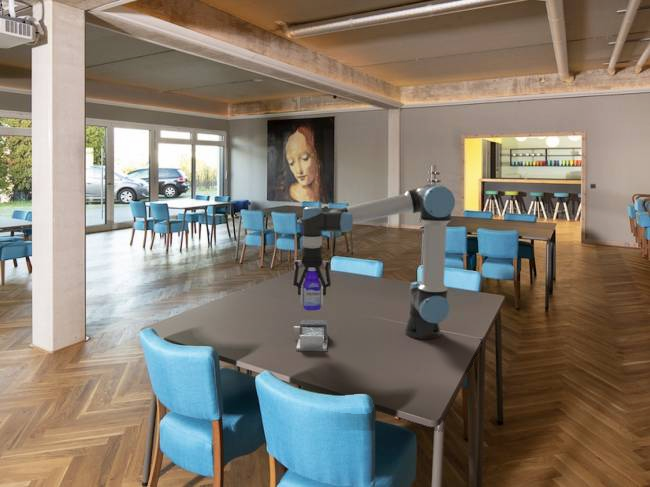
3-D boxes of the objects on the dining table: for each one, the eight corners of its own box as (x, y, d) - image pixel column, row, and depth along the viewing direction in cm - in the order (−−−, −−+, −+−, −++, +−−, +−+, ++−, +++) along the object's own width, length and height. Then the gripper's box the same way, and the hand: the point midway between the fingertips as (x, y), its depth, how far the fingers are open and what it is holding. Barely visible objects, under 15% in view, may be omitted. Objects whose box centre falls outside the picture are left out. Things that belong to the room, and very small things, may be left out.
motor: (328, 335, 208) (328, 320, 207) (327, 340, 202) (327, 324, 201) (294, 335, 209) (294, 319, 208) (293, 340, 203) (292, 324, 202)
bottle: (304, 311, 191) (305, 268, 188) (301, 307, 196) (301, 265, 193) (322, 310, 193) (323, 267, 190) (318, 306, 198) (319, 264, 195)
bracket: (327, 341, 202) (327, 327, 201) (326, 351, 191) (326, 336, 190) (298, 340, 202) (298, 326, 201) (296, 350, 192) (296, 335, 191)
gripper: (338, 245, 194) (337, 300, 197) (287, 244, 194) (287, 299, 198) (337, 248, 186) (337, 306, 190) (285, 247, 187) (285, 305, 191)
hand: (312, 302), depth 194 cm, fingers closed on bottle, 7 cm apart
